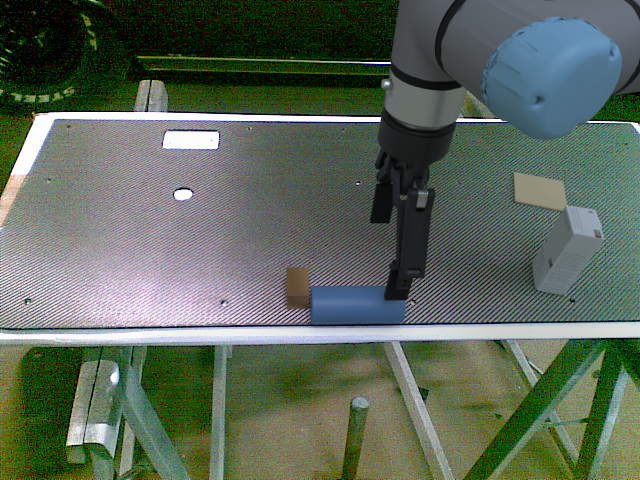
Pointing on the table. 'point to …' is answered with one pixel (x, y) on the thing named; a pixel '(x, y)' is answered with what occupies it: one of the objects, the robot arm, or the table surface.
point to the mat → (539, 191)
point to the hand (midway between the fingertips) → (386, 257)
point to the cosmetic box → (567, 250)
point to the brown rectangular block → (297, 288)
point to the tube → (354, 305)
